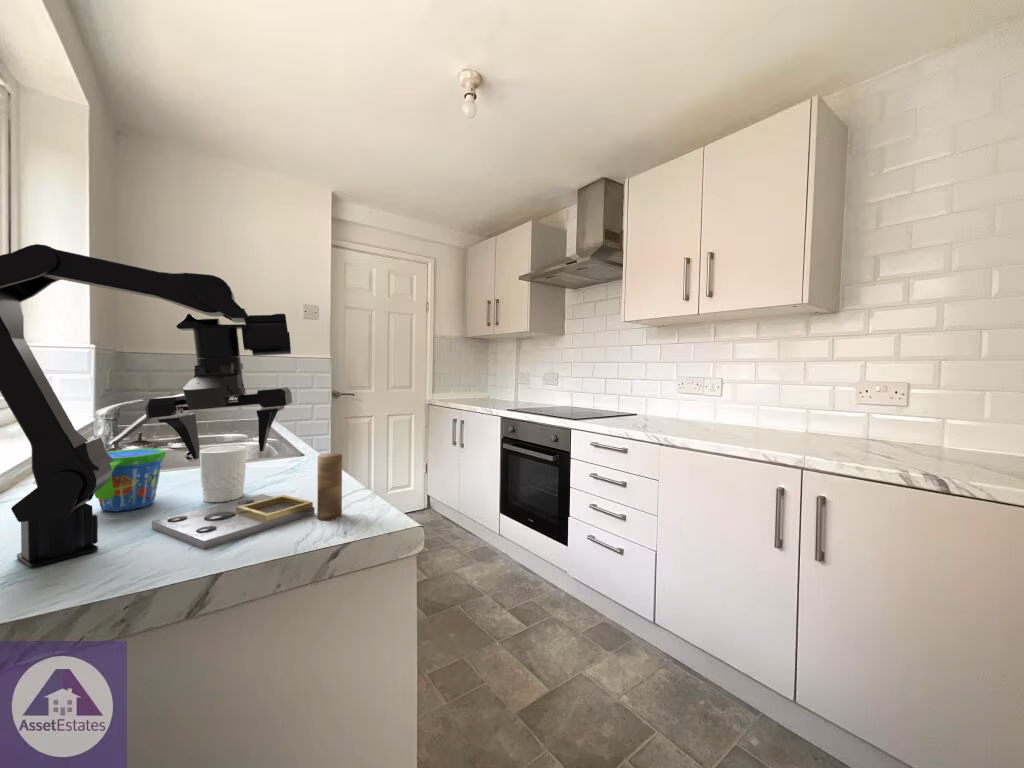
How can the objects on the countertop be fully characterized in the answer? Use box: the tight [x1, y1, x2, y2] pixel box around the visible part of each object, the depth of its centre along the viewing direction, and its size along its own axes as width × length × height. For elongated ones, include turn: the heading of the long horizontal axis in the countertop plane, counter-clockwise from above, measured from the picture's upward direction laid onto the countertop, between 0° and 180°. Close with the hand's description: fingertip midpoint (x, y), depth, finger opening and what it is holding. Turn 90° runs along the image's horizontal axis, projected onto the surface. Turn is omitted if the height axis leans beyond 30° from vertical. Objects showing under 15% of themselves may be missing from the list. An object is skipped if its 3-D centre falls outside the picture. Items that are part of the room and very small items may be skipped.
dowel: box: [316, 452, 343, 521], centre depth 76 cm, size 4×4×11 cm
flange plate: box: [151, 493, 315, 550], centre depth 73 cm, size 18×16×2 cm
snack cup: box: [94, 448, 166, 512], centre depth 80 cm, size 16×10×10 cm
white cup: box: [199, 445, 248, 504], centre depth 86 cm, size 8×8×10 cm
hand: (230, 454), depth 68 cm, fingers open, 9 cm apart
